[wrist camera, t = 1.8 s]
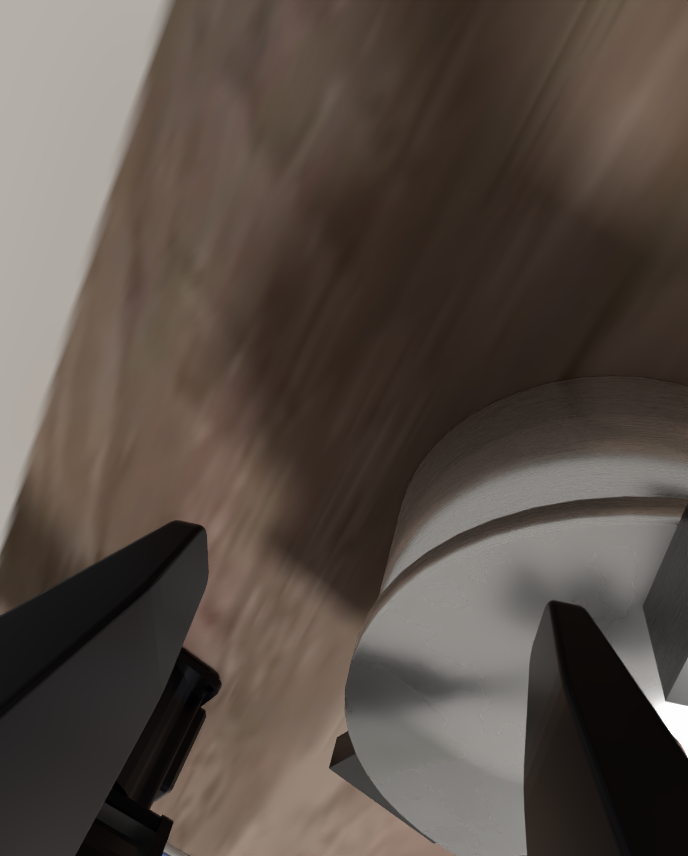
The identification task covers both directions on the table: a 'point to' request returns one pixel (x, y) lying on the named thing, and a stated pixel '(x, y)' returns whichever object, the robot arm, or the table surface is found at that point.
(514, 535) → the cooker lid
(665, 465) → the pressure cooker pot
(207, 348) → the table surface
